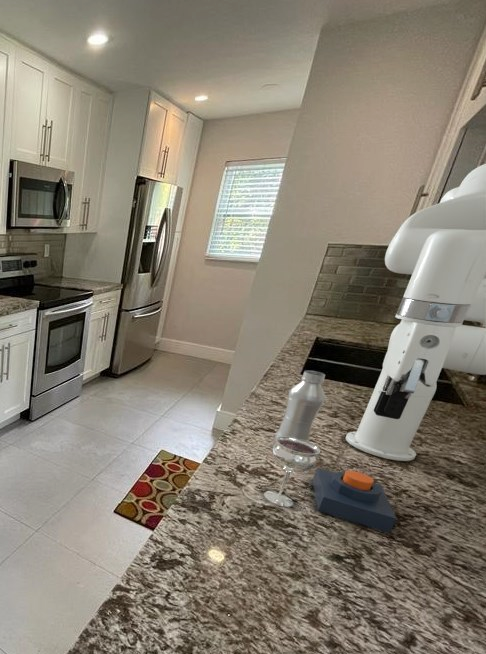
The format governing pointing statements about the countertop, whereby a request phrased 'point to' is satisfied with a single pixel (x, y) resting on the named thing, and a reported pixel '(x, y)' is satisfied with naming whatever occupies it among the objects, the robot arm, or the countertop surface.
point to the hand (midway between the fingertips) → (385, 415)
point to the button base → (352, 501)
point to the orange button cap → (358, 480)
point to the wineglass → (291, 463)
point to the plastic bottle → (302, 406)
